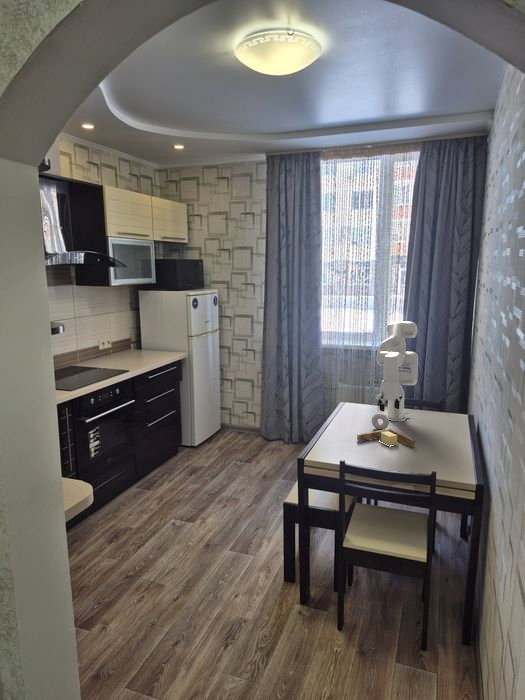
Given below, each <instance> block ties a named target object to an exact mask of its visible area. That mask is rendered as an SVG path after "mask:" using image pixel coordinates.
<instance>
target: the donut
mask: <svg viewBox="0 0 525 700" xmlns="http://www.w3.org/2000/svg"><path fill="white" fill-rule="evenodd" d="M386 415H387V414H385V413H384V412H383V413H382V412H377V413H375V414H373V416H372V418H371V424H372V426H373V427H374V428H375V429H376V430H379V429H382V430H385V429H388V427H389V424H390V421H389V419H388V417H387V416H386ZM378 420H382V423H379V421H378Z"/></svg>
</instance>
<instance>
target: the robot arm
mask: <svg viewBox="0 0 525 700" xmlns="http://www.w3.org/2000/svg"><path fill="white" fill-rule="evenodd" d="M418 329H419V328H418V325H417V323H416V322H414V321H403V320H402V321H401V320H398V321H396V320H395V321H393V322H391V323H388V324H387V326H386V331H387V334H388V335H387V338H386V339H385V340H384V341H382V342H381V343H380V344H379V346H378V347H377V351H376V357H375V361H376V363H377V364H378V365H379V366H383V374H382V375H383V377H382V378H383V379H382V380H381V382H380V387H379V393H378V394H377V395H376V396H375V399H376V402H378V404H379V411H381V412H383V413H384V412H385V410H386V409H385V407H386V406H385V405H386V404H385V403H386V401H387V414H385V415H386V416H387V417H388V419H389V420H391V421H390V422H396V421H398V422H405V421H406V419H407V417H406V415H410V411H408V410H407V411H405V390H404V388H403V386H415V385H416V384H417V383H418V377H419V374H418V373H419V355H418V353H417V352H416V351H415V352H414V351H408V350H406V349H407V343H406V341H405V338H407V339H408V338H410V339H414V338H416V337H417V335H418ZM399 367H402V368H399ZM407 368H409V369H407Z"/></svg>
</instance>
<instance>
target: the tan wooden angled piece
mask: <svg viewBox="0 0 525 700" xmlns="http://www.w3.org/2000/svg"><path fill="white" fill-rule="evenodd" d="M382 431H389V432H391V433H393V434H396V435H397V440H398V441H397V442H399V441H400V442H399V443H401V442H402V443H401V444H403V443H404V445H405V444H406V446H407V445H408V447H409V446H410V447H409V448H411V447H412V448H411V449H414V448H416V440H415V439H413V438H411V437H409V436H407V435H404V434H403V433H401V432H399V431H396V430H394V429H392V428H386V429H383V430H379V429H378V430H374V431H370V432H369V431H368V432H364V433H359V434H356V436H357V437H356V441H357V440H358V441H364V440H369V441H371V440H370V439H374V440H376V439H375V438H380V432H382ZM364 442H365V441H364ZM399 443H397V444H396V445H398V446H400V444H399ZM396 445H394V446H393V447H397V446H396ZM385 447H387V445H386V446H385Z"/></svg>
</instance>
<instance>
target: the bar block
mask: <svg viewBox="0 0 525 700" xmlns="http://www.w3.org/2000/svg"><path fill="white" fill-rule="evenodd" d="M379 440H380V441H381V442H383V443H385V444H387V445H389V446H390V445H396V444H398V441H397V435H396V434H393V433H391V432H389V431H382V432H380V439H379Z"/></svg>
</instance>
